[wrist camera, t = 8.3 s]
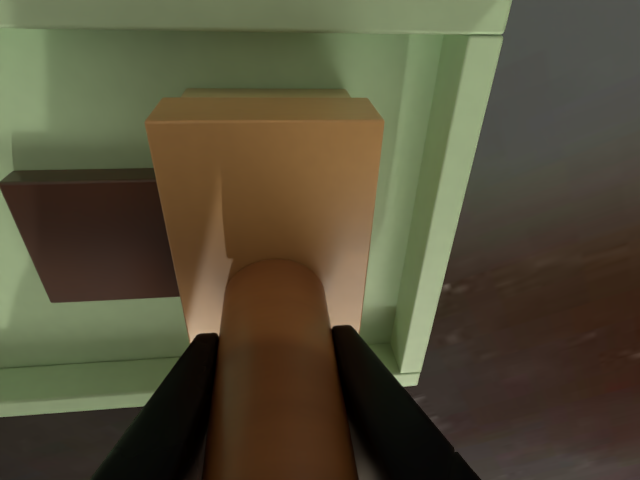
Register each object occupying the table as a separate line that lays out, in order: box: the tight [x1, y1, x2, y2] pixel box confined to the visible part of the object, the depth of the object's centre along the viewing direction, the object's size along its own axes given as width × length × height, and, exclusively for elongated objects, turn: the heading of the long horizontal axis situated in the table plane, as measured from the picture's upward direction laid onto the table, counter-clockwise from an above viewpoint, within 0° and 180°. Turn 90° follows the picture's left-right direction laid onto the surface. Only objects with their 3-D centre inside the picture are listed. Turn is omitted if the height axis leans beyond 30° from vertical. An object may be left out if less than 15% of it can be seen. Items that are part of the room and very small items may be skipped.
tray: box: [0, 0, 512, 417], centre depth 12 cm, size 13×19×2 cm
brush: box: [144, 88, 385, 480], centre depth 9 cm, size 9×4×8 cm, turn 178°
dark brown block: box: [0, 168, 180, 303], centre depth 12 cm, size 4×4×1 cm
